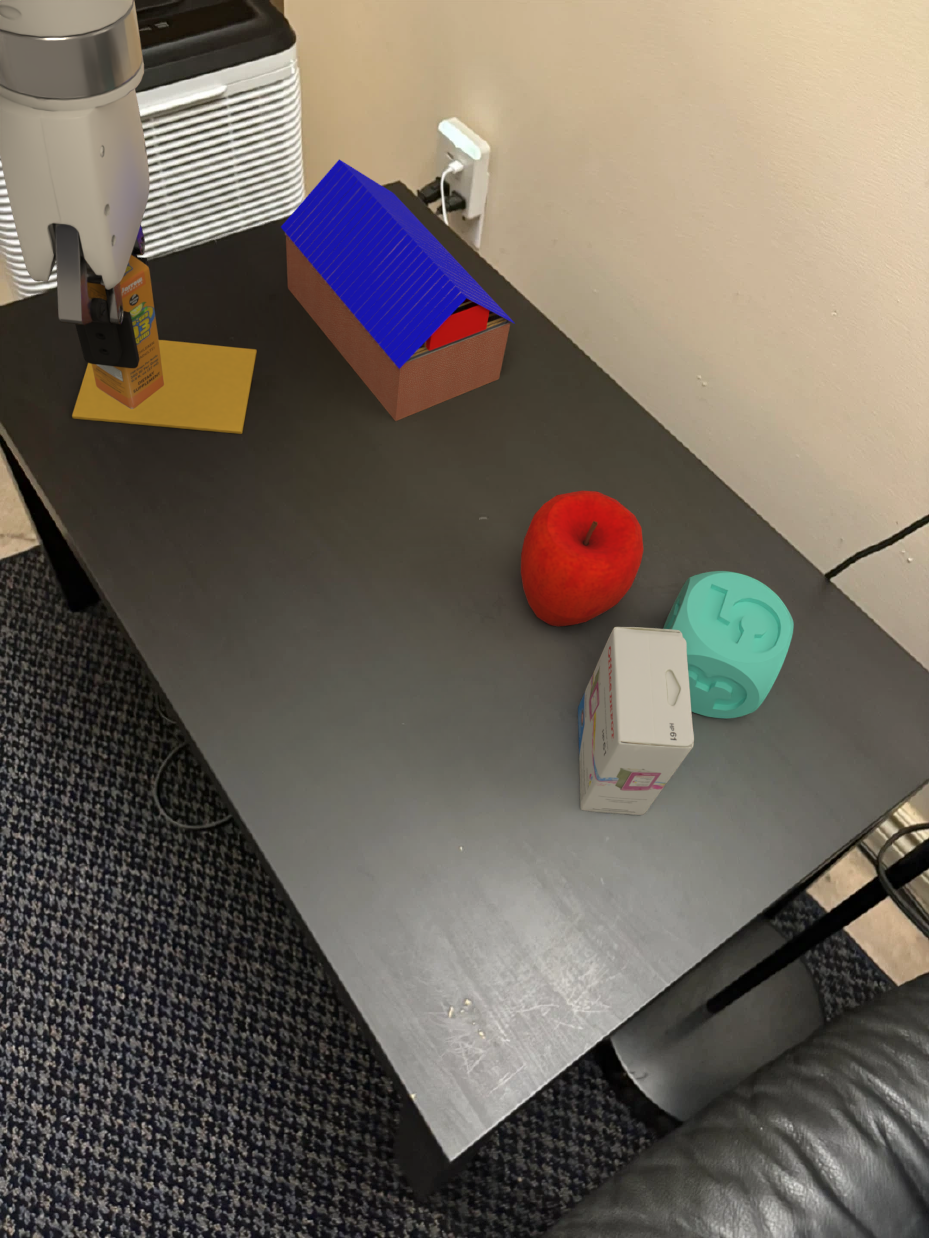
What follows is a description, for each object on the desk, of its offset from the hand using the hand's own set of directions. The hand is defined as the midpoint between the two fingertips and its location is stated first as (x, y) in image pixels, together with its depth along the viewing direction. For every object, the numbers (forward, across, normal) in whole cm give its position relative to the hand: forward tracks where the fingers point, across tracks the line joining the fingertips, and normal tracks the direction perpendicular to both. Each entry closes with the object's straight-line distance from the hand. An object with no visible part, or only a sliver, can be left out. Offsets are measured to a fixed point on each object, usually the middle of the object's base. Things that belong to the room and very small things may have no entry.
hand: (121, 333), depth 61 cm
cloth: (+19, -15, -2) cm, 24 cm away
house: (+19, -24, +17) cm, 35 cm away
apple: (+19, +5, +32) cm, 38 cm away
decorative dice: (+19, +10, +43) cm, 48 cm away
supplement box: (+5, 0, 0) cm, 5 cm away
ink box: (+19, +18, +35) cm, 44 cm away
